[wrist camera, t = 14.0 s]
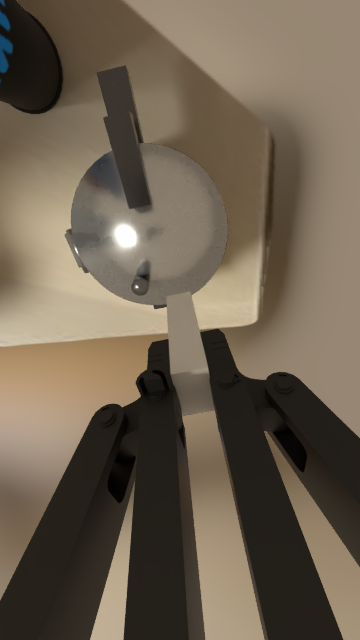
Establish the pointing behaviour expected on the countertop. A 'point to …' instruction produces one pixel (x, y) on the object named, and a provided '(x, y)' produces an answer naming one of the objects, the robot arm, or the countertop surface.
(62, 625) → the robot arm
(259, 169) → the countertop surface
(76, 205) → the lid
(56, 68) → the aerosol can
